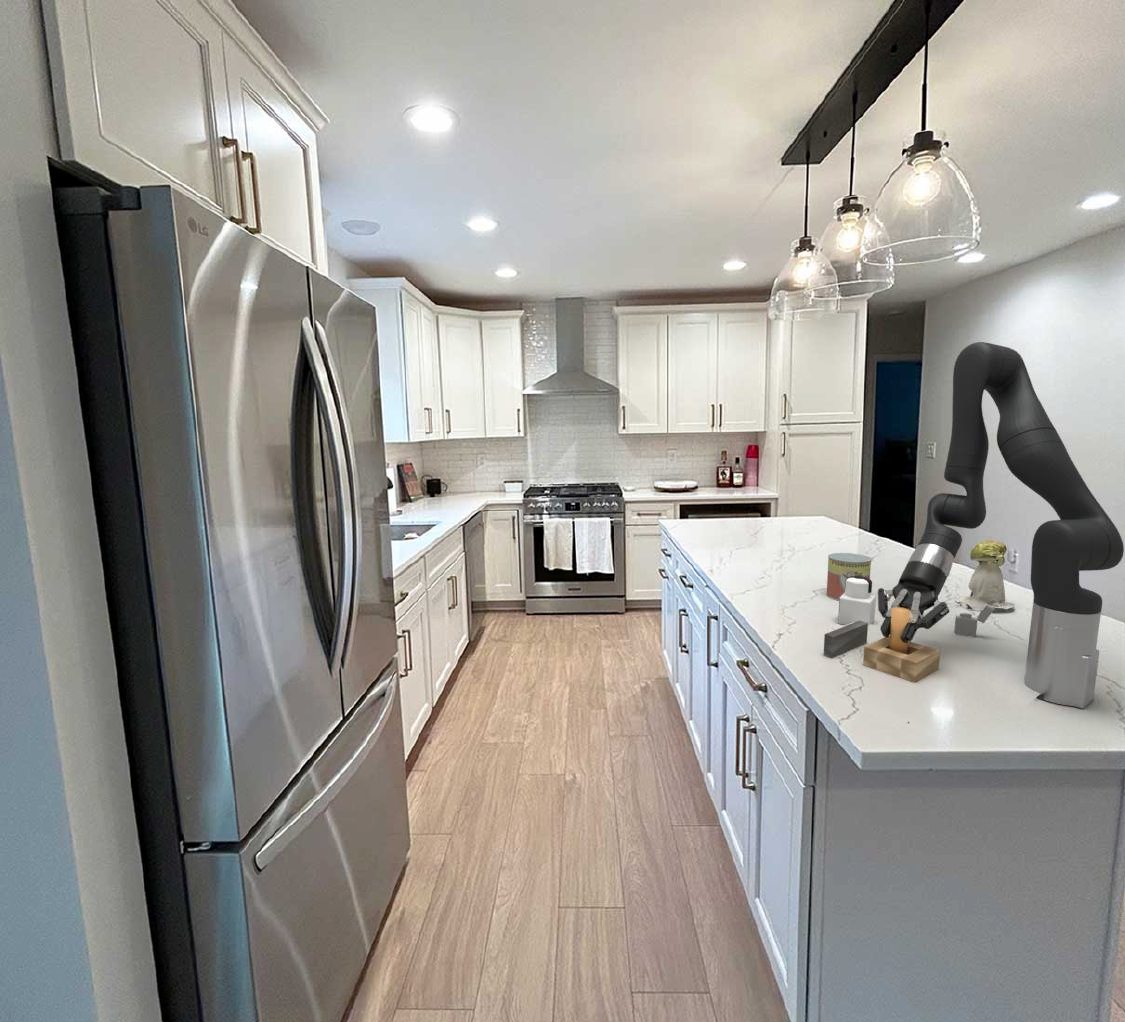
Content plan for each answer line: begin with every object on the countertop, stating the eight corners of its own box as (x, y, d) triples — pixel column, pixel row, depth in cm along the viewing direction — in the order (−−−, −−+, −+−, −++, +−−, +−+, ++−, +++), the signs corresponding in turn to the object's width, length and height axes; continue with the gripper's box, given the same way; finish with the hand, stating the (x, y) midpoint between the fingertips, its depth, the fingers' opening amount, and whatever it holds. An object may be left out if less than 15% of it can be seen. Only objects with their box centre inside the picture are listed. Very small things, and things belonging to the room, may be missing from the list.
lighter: (954, 634, 133) (957, 602, 132) (954, 632, 135) (956, 600, 134) (991, 639, 130) (994, 607, 128) (990, 637, 131) (993, 604, 130)
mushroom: (1027, 613, 146) (1034, 545, 144) (979, 614, 146) (985, 546, 143) (991, 599, 158) (997, 536, 155) (947, 600, 158) (952, 537, 155)
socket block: (938, 669, 112) (940, 650, 112) (914, 682, 107) (916, 662, 106) (887, 653, 121) (888, 635, 120) (863, 664, 115) (864, 646, 115)
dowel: (909, 656, 114) (913, 610, 112) (901, 660, 112) (905, 613, 110) (893, 651, 116) (896, 606, 115) (885, 655, 115) (888, 609, 113)
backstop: (950, 674, 113) (952, 646, 112) (917, 694, 105) (919, 664, 104) (853, 643, 129) (855, 619, 128) (818, 658, 121) (820, 632, 120)
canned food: (830, 601, 159) (833, 561, 158) (822, 590, 170) (824, 552, 168) (874, 603, 157) (876, 562, 155) (862, 592, 168) (865, 553, 166)
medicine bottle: (844, 616, 147) (846, 572, 146) (874, 621, 143) (877, 576, 141) (837, 623, 142) (840, 578, 140) (868, 629, 137) (871, 583, 136)
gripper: (886, 554, 121) (853, 618, 116) (960, 566, 109) (926, 639, 105) (897, 573, 125) (865, 637, 120) (969, 587, 113) (937, 658, 108)
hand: (894, 637), depth 112 cm, fingers closed on dowel, 3 cm apart
